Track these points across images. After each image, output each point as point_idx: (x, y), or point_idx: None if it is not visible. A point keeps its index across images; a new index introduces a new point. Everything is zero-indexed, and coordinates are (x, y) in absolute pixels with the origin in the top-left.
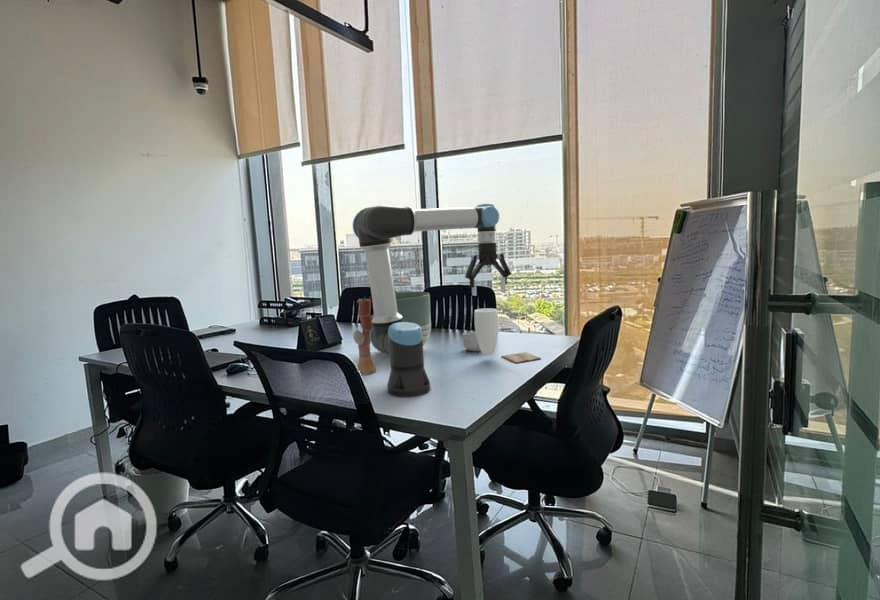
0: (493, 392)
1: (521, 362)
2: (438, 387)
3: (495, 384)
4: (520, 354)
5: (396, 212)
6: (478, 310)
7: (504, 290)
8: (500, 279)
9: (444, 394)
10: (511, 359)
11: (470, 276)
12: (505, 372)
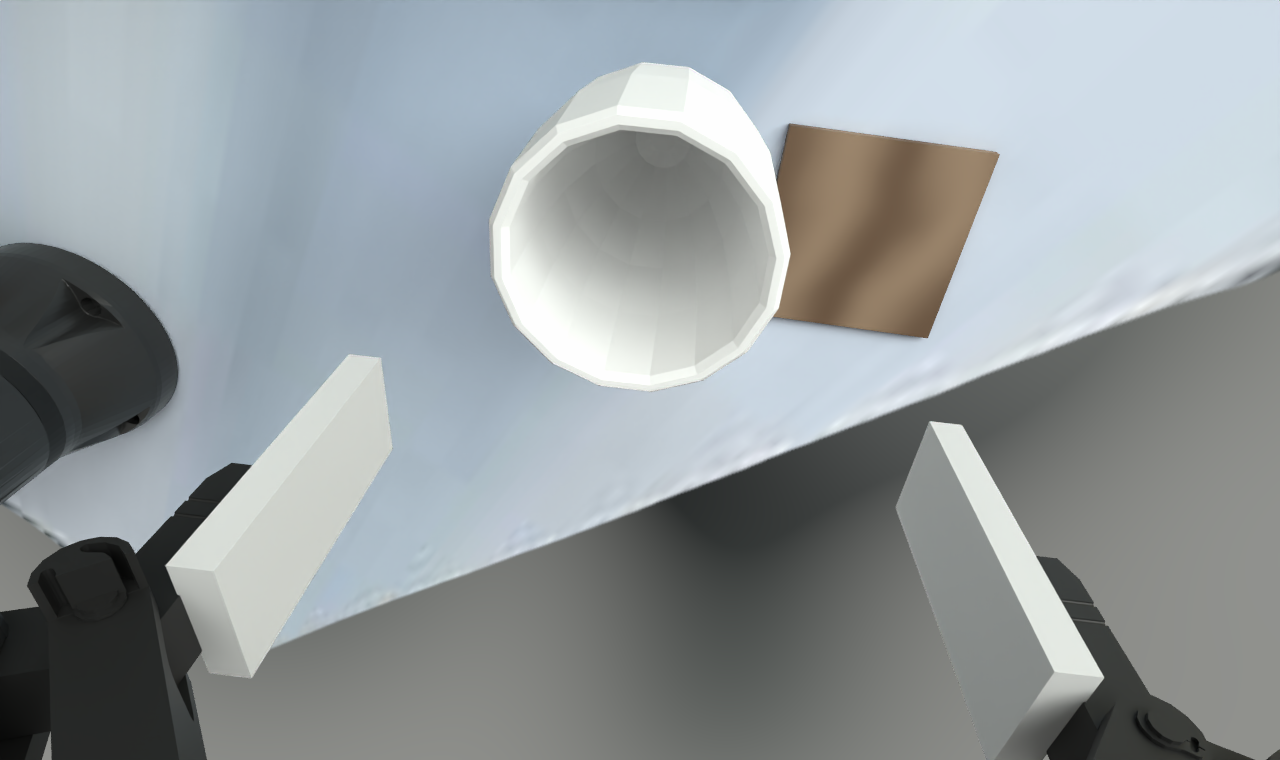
0: (412, 543)
1: (787, 315)
2: (218, 382)
3: (462, 489)
4: (917, 186)
5: None
6: (597, 134)
7: (915, 535)
8: (1026, 613)
9: (228, 462)
10: None
11: (45, 740)
12: (595, 395)
